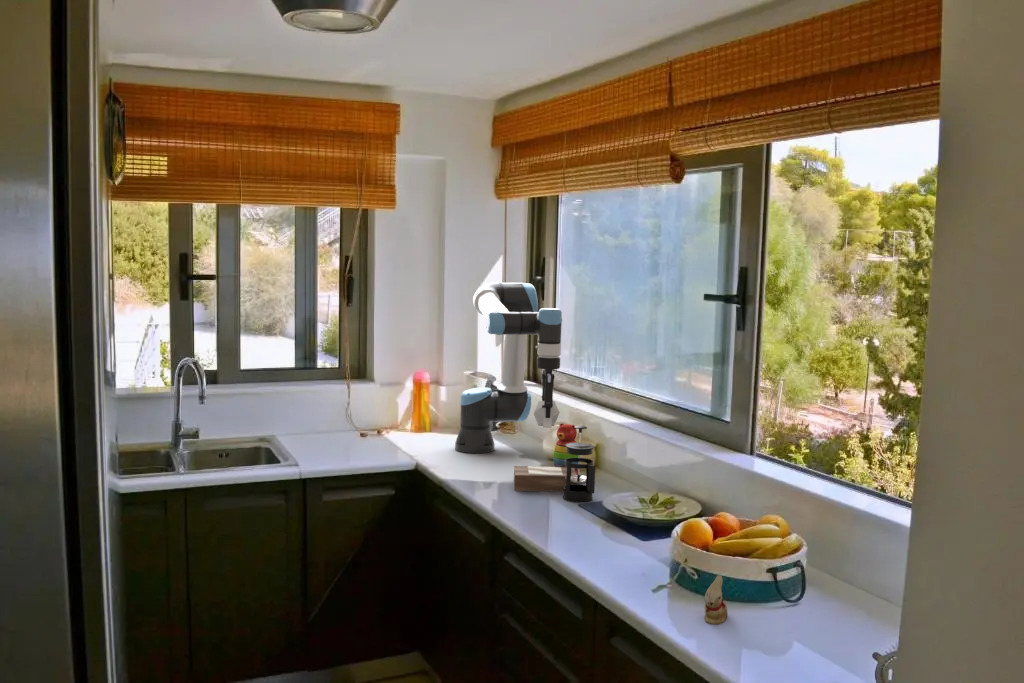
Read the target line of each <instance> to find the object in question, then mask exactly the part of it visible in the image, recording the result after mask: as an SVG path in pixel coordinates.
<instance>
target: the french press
mask: <svg viewBox="0 0 1024 683" xmlns="http://www.w3.org/2000/svg"><path fill="white" fill-rule="evenodd" d="M574 428H576V430H578V433H579V442H577V443H568V444H566V445H565V446H566V447H567V453H569V454H573V455H579V458H568V459H565V466H567V476H566V477H565V479H566V486H564V491H563V495H562V499H563V500H565V501H567V502H571V503H588V502H591V501H593V499H594V497H593V495H594V494H595V486H596V485H595V483H596V465H595V464H594V462H595V461H594V460H593V459H590V458H584V457H581V456H589V455H592V454H593V453H594V452H593V450H594V448H595V446H594V445H593V444H591V443H586V442H581V440H582V438H581V436H582V433H583V430H587V429H588V427H587V426H585V425H575V427H574ZM572 462H579V464H572ZM581 463H582V464H581ZM583 463H584V464H583ZM585 463H586V464H585ZM572 468H578V475H571V469H572ZM580 469H581V470H582V469H586V473H585V475H580ZM571 483H577V484H571Z"/></svg>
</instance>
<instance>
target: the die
mask: <svg viewBox="0 0 1024 683" xmlns="http://www.w3.org/2000/svg"><path fill="white" fill-rule="evenodd" d="M542 405H544V401H542V400H539V401H538V402H537V405H536V407H535V409H534V412H533V416H534V419H535V421H536V422H537V425H538V427H543V412H544V408H542ZM560 413H561V412H560V410H559V408H558V406H557V404H556V402H555V401H554V400H553V407H552V427H555V425H556V422H557V419H558V418H559V415H560Z"/></svg>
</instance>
